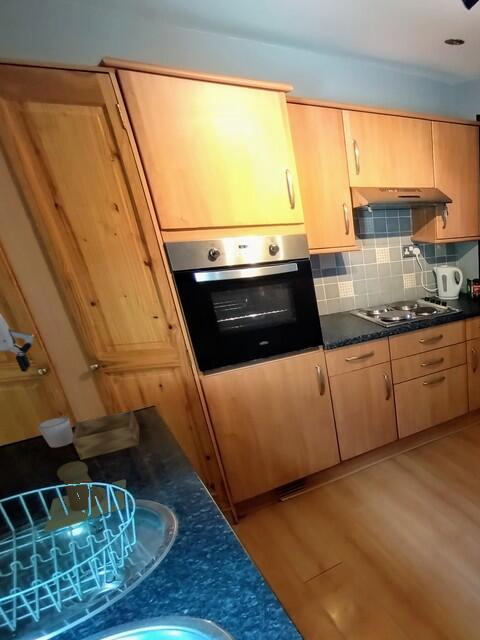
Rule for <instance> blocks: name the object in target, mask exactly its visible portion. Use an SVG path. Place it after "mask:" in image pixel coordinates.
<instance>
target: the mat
mask: <svg viewBox="0 0 480 640" xmlns="http://www.w3.org/2000/svg"><path fill="white" fill-rule="evenodd" d="M111 483H112V484H115V485H118V486H121V487H122V488H125V489H126V485H127V480H126V479H124V478H123V479H120V480H117V481H114V482H113V481H112V482H111ZM96 487H97V489H98V490H99V492H100V493H101V494H102V496H103V497H104V498H103V500H102V501H101V502H100V506H101V508H102V510H103V514H104V515H103V516H105V515H108V514H109V513H108V503H107V493H106V489H104V488H102V487H99V486H96ZM115 495H116V498H117V500H118V502H119V507H120V510H119V511H121V510H124V509H125V505H124V494H123V493H122V492H121V491H118V490H117V491H115ZM62 497H63V499H64V502H65V504H66V507H67V510H68V515H66V514H65V512H64V510H63V507H62V505H61V503H60V500H59V497H56V498H53V499H52V502H51V505H50V509H49V512H50V514H51V517H52V518H51V520H49V519H48V518H47V520H46V523H45V527H44V533H45V534H47V533H50V532H53V531H57V530H60V529H63V528H66V527H69V526H73V525H75V524H78V523H79V524H80V523H82V522H85V521H87V520H86V519H87V517H88V509H86V510H85V513H84V512H82V510H81V511H73V510H72V509H71V507H70V503H69V499H68V495H67V494H66V495H63V496H62ZM115 512H118V511H117V509H116V507H115V505H114V504H112V507H111V513H110V514H112V513H115ZM98 517H101V516H100V511H99V510H98V507H97V505H96V506H94V507H91V519H90V520H92V519H95V518H98Z"/></svg>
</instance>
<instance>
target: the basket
mask: <svg viewBox="0 0 480 640" xmlns="http://www.w3.org/2000/svg"><path fill="white" fill-rule="evenodd" d="M136 418H137V417H136V416H135V413H134V410H133V409H132V410H127V411H123V412H118V413H114V414H108V415H104V416H98V417H95V418H90V419H85V420H81V421H77V422H76V423H75V429H74V431H73V439H72V441H73V442H72V444H73V446H74V448H75V450H76V452H77V455H78V457H79V459H80V460H84V459H88V458H93V457H97V456H100V455H101V456H102V455H105V454H109V453H112V452H113V453H114V452H116V451H121V450H125V449H130V448H133V447H137V446H140V426H139V423H138V421H137V419H136Z"/></svg>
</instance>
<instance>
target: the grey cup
mask: <svg viewBox="0 0 480 640" xmlns="http://www.w3.org/2000/svg"><path fill="white" fill-rule="evenodd" d="M71 425H72V424H71V422H70V418H69V417H65V416H64V417H63V416H61V417H55V418H51V419H47V420H44V421H42V422H40V423H38V424H37V425H36V427H37V429H38V431H39V432H40V434H41V435H42V437H43V439H44V440H45V441H46V443H47V444H48V446H49V447H50V448H61V447H65V446H67V445H69V444H73V441H72V439H73V435H74V431H73V429H72V426H71Z"/></svg>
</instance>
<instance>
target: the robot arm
mask: <svg viewBox="0 0 480 640" xmlns="http://www.w3.org/2000/svg"><path fill="white" fill-rule="evenodd" d="M16 339H20V340H24V344H23V345H22V346H21V345H19V344H17V341H16ZM34 340H35V334H31V333H27V332H22V331H19V330H13V329H11V328H10V326H9V324H8V323H7V321H6V320H5V318H4V316H3V315H2V314H1V313H0V353H3V352H7V351H8V352H10V353H13V354H15V355H16V356H15V359H16V362H17V364H18V366H19V369H20V371H21V372H24V373H25V372H28V370H29V368H31V363H30V361H29V358H28V356H27V354H26V353H27V352H28V351H29V350H30V349H31V347H32V346H33V344H34Z"/></svg>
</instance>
